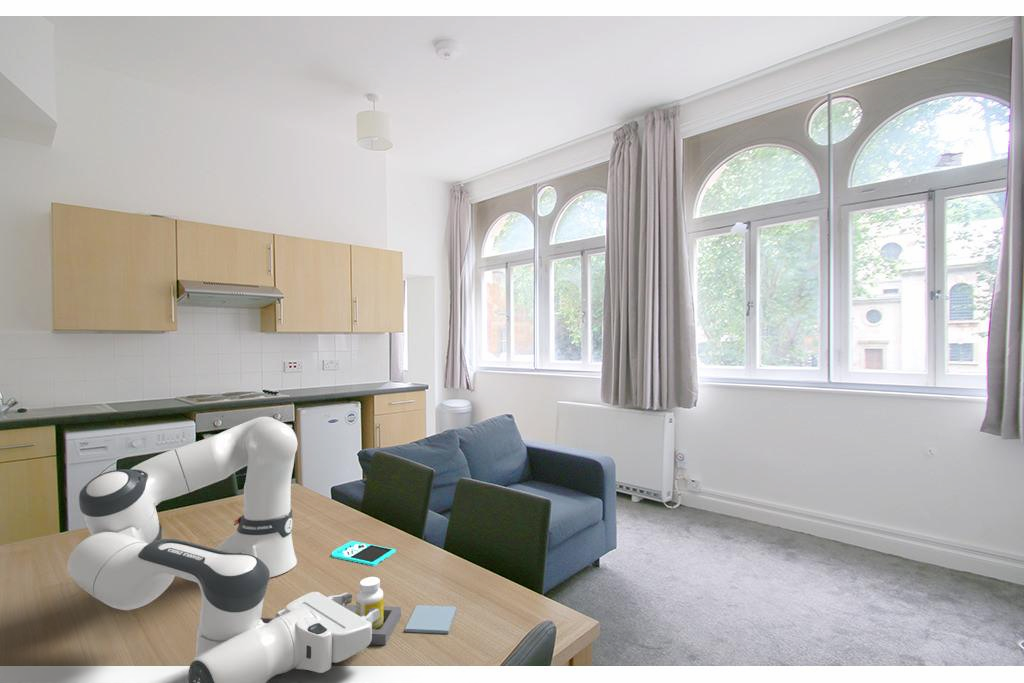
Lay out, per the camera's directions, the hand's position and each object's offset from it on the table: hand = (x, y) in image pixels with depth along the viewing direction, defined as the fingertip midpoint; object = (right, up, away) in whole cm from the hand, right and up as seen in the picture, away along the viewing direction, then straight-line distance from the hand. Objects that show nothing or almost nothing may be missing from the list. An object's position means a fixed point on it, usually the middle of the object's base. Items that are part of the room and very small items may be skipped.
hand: (363, 604), depth 98 cm
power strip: (-8, -6, +2) cm, 10 cm away
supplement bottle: (+1, -6, +1) cm, 6 cm away
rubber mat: (+13, -6, +5) cm, 15 cm away
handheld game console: (-12, -7, +37) cm, 40 cm away
